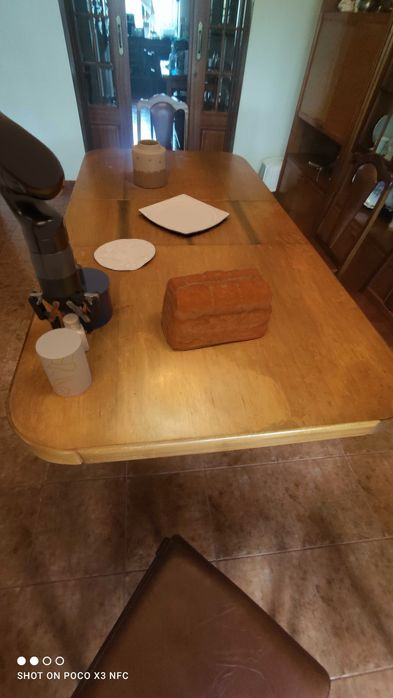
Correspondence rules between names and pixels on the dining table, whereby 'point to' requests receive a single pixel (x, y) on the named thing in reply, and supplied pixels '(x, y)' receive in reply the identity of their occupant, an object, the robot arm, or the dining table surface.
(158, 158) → the vase
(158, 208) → the plate
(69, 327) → the salt shaker
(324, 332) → the dining table surface
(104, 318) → the pot
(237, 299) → the bread
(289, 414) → the dining table surface
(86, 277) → the pot lid
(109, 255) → the plaque
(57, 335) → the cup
